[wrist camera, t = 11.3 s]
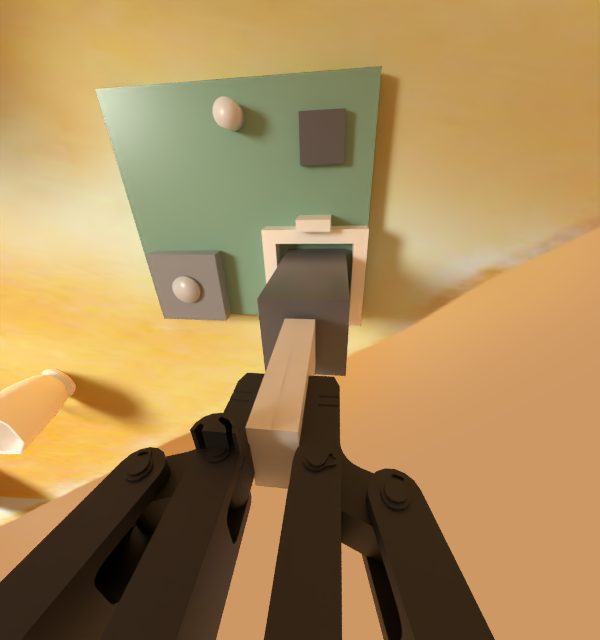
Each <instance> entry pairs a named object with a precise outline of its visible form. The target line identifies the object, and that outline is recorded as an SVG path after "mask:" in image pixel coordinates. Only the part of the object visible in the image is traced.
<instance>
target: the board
mask: <svg viewBox="0 0 600 640" xmlns="http://www.w3.org/2000/svg"><path fill="white" fill-rule="evenodd" d="M381 68H382V66H379V67H367V68H354V69H341V70H329V71H316V72H304V73H291V74H279V75H266V76H253V77H241V78H228V79H216V80H203V81H191V82H178V83H165V84H153V85H140V86H128V87H115V88H103V89H95V91H96V94H97V97H98V101H99V104H100V107H101V110H102V114H103V117H104V120H105V124H106V127H107V130H108V134H109V137H110V140H111V144H112V147H113V150H114V154H115V157H116V160H117V164H118V167H119V170H120V173H121V177H122V180H123V183H124V187H125V190H126V193H127V197H128V200H129V203H130V207H131V210H132V213H133V217H134V220H135V223H136V227H137V230H138V233H139V236H140V240H141V243H142V246H143V250H144V253H145V254H147V253H150V252H152V251H154V250H221V256H222V262H223V268H224V274H225V280H226V286H227V292H228V298H229V304H230V310H231V314H250V315H259V311H258V302H257V298H258V297H259V295H260V294H261V292H262V290H263V289H264V287H265V286H266V276H265V265H264V255H263V244H262V234H261V230H262V229H263V228H265V227H266V226H296V222H295V220H296V219H297V218H298V216H299V215H331V226H348V225H367V226H368V223H369V211H370V199H371V187H372V176H373V164H374V152H375V140H376V128H377V116H378V104H379V92H380V80H381ZM288 249H345V251H346V262H347V273H348V284H349V294H350V277H351V260H352V244H280V256H281V260H282V259H283V257H284V256H285V254H286V252H287V251H288ZM146 260H147V259H146ZM147 263H148V262H147ZM149 270H150V269H149ZM150 273H151V272H150ZM152 280H153V279H152ZM153 283H154V282H153ZM154 286H155V285H154ZM155 290H156V289H155ZM156 293H157V292H156ZM157 296H158V295H157ZM159 303H160V302H159ZM160 306H161V305H160Z"/></svg>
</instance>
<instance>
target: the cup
mask: <svg viewBox="0 0 600 640" xmlns="http://www.w3.org/2000/svg"><path fill="white" fill-rule="evenodd" d="M75 389H76V385H75V383H74V382H73V381H72V379H71V378H70V376H68V375H67V374H65V373H63V372H61V371H59V370H57V369H48V370H44V371H43V373H42V375H35V376H33V377H30V378H28V379H25V380H23V381H20V382H18V383H15V384H13V385H11V386H9V387H7V388H5V389H3V390H1V391H0V454H22V453H23V452H24V451H25V449H26V448H27V447H28V446H29V445H30V444H31V443H32V442H33V440H34V439H35V438H36V437H37V436H38V435H39V433H40V432H41V431H42V430H43V429H44V428H45V427H46V426H47V425H48V423H49V422H50V421H51V420H52V419H53V418H54V417H55V416H56V414H57V413H58V411H59V410H60V409H61V407H62V406H63V405H64V403H65V402H66V400H67V398H68V396H71V395H72V394H74V391H75Z"/></svg>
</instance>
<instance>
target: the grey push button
mask: <svg viewBox="0 0 600 640" xmlns="http://www.w3.org/2000/svg"><path fill="white" fill-rule="evenodd" d="M145 256H146V259H147V262H148V266H149V269H150V272H151V276H152V279H153V282H154V285H155V289H156V292H157V295H158V299H159V302H160V305H161V309H162V312H163V315H164V319H195V320H227V319H228V318H229V316H230V315H231V310H230V304H229V298H228V292H227V286H226V280H225V274H224V268H223V262H222V256H221V250H154V251H152V252H150V253H147V254H145Z"/></svg>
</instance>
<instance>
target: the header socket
mask: <svg viewBox="0 0 600 640" xmlns="http://www.w3.org/2000/svg"><path fill="white" fill-rule="evenodd" d="M295 222H296V226H266V227H265V228H263V229H262V230H261V234H262V244H263V255H264V265H265V276H266V284H267V283H268V281H269V279H270V278H271V276H272V275H273V273H274V271H275V270H276V268H277V267H278V265H279V264H280V262H281V256H280V244H352V260H351V277H350V311H349V325H360V326H361V318H362V306H363V294H364V283H365V271H366V259H367V248H368V236H369V228H368V226H367V225H348V226H331V215H299V216H298V218H297V219H296V220H295Z"/></svg>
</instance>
